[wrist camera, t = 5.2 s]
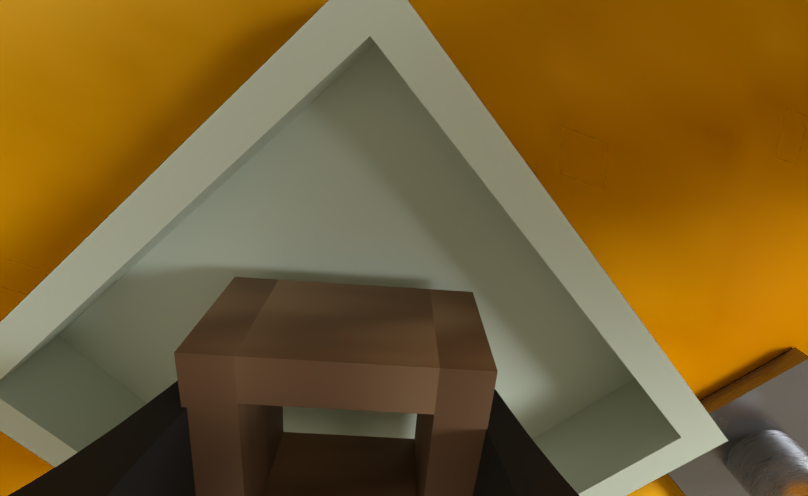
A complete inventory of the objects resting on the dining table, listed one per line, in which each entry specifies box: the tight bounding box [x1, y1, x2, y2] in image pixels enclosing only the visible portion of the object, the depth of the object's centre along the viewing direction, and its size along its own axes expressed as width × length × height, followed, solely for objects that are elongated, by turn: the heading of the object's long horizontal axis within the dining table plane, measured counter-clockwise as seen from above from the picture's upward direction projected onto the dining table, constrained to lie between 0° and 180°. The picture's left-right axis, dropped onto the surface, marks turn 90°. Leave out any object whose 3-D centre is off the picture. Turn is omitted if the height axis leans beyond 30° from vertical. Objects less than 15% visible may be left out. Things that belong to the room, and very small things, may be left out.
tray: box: [0, 0, 728, 496], centre depth 11 cm, size 13×13×3 cm
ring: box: [174, 277, 498, 496], centre depth 10 cm, size 6×6×3 cm
